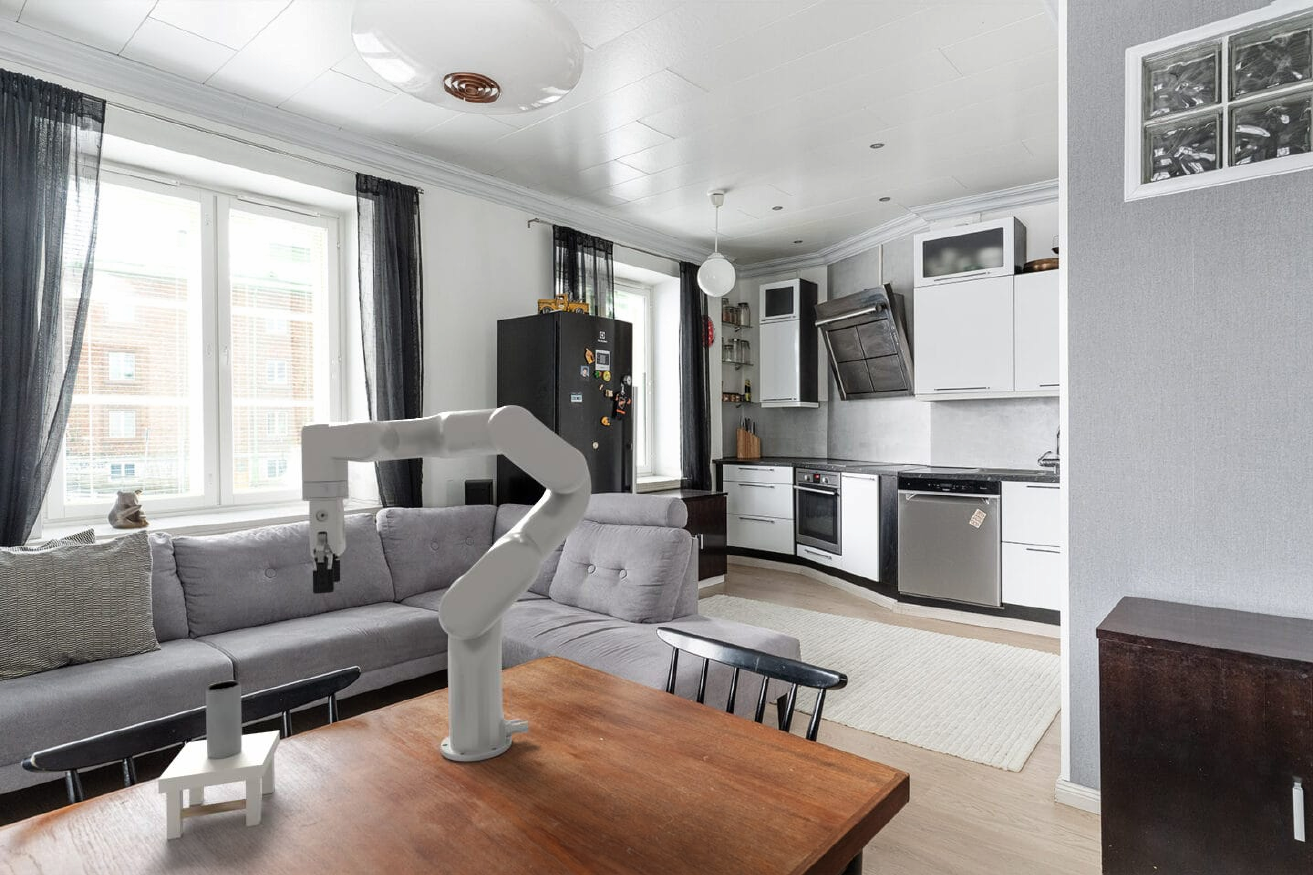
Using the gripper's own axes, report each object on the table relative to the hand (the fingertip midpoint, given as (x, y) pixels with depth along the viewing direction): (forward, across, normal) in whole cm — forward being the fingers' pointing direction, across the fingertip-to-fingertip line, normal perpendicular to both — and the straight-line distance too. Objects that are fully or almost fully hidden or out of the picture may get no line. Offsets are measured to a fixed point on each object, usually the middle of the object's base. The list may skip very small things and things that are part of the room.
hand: (327, 587), depth 126 cm
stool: (+30, -15, +13) cm, 36 cm away
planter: (+22, -15, +13) cm, 29 cm away
